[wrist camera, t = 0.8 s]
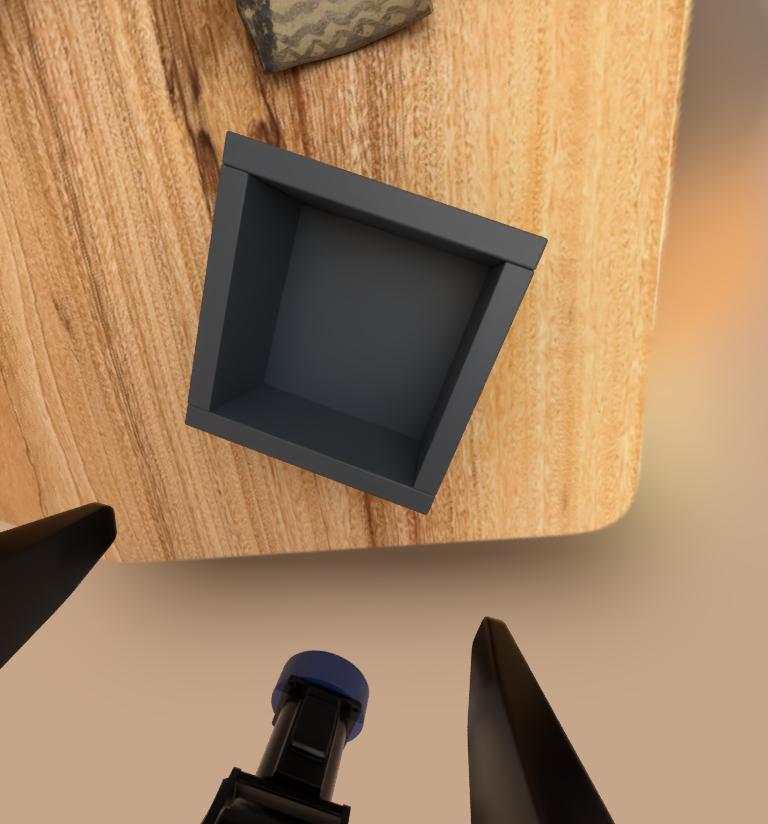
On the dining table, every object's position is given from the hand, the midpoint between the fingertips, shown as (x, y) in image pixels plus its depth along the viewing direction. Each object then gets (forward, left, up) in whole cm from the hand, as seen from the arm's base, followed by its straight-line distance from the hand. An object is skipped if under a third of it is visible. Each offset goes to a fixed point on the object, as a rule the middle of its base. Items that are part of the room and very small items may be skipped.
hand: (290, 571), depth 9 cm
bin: (+4, +2, -13) cm, 14 cm away
